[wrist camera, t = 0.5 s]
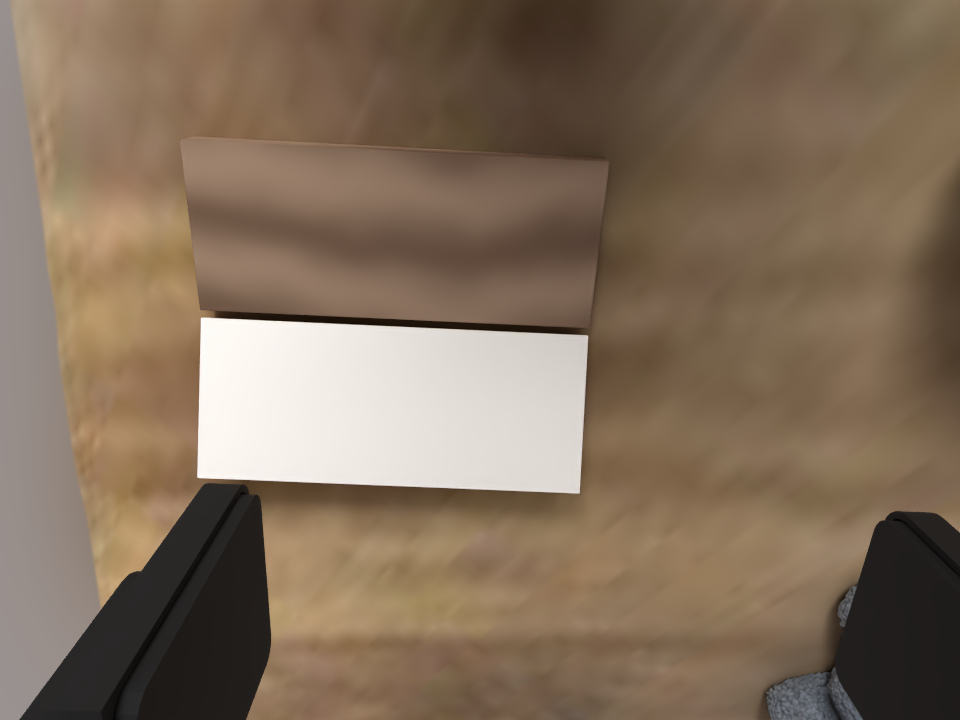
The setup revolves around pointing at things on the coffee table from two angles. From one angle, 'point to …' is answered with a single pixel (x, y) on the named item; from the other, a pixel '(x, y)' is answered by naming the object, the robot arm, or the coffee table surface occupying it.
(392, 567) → the coffee table surface
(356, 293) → the walnut plank
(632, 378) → the coffee table surface
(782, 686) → the koala plush
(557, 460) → the off-white plank
